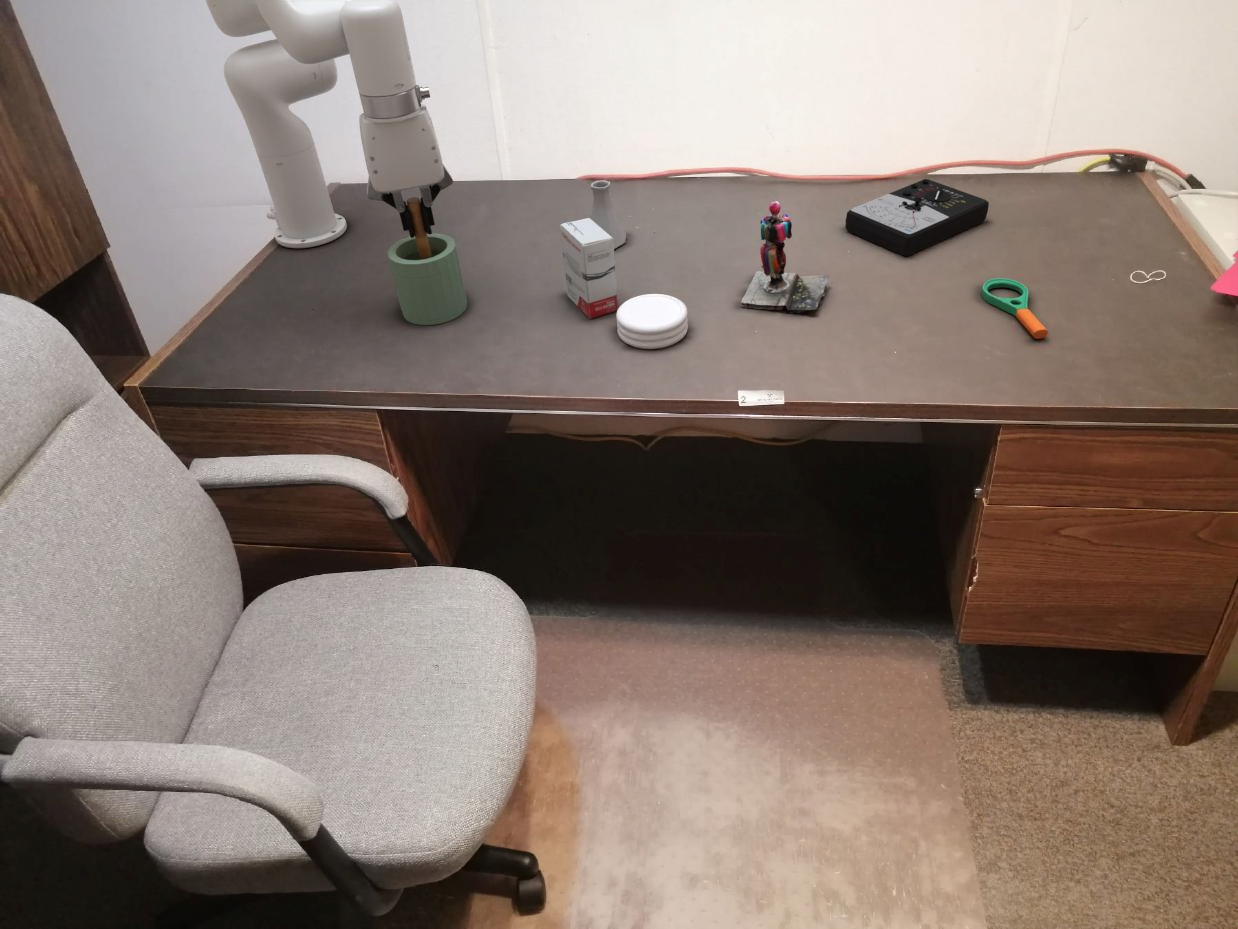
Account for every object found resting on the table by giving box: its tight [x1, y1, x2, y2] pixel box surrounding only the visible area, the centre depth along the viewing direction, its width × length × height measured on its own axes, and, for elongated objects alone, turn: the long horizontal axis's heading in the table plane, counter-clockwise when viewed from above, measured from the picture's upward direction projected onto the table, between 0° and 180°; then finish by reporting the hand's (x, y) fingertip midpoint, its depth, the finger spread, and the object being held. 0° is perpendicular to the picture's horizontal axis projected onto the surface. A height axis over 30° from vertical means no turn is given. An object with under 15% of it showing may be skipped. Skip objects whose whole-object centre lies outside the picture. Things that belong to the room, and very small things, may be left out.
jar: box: [387, 232, 468, 326], centre depth 133 cm, size 10×10×10 cm
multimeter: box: [844, 178, 990, 257], centre depth 145 cm, size 13×19×5 cm
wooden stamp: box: [406, 196, 432, 260], centre depth 131 cm, size 5×5×16 cm
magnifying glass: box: [981, 277, 1049, 339], centre depth 123 cm, size 15×6×2 cm, turn 3°
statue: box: [740, 200, 830, 314], centre depth 127 cm, size 11×9×15 cm
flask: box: [589, 179, 627, 250], centre depth 146 cm, size 7×7×10 cm
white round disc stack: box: [615, 293, 689, 350], centre depth 125 cm, size 10×10×4 cm
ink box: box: [559, 217, 619, 319], centre depth 130 cm, size 8×5×12 cm, turn 26°
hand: (420, 231), depth 129 cm, fingers closed on wooden stamp
